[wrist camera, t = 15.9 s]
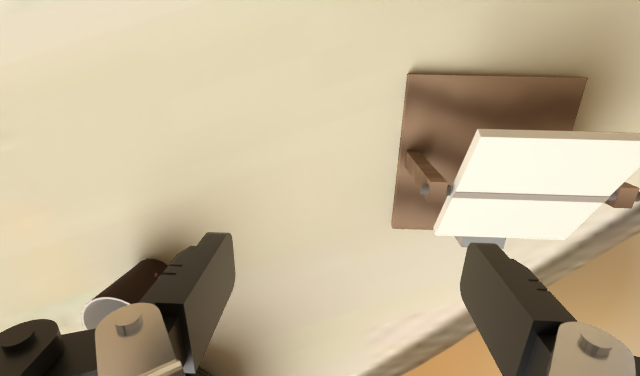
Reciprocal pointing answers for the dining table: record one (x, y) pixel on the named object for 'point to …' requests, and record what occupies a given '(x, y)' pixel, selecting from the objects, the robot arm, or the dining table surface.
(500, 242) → the gray cube
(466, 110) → the stand
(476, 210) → the trapdoor
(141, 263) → the coffee mug
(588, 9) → the dining table surface
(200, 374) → the amphora vase
